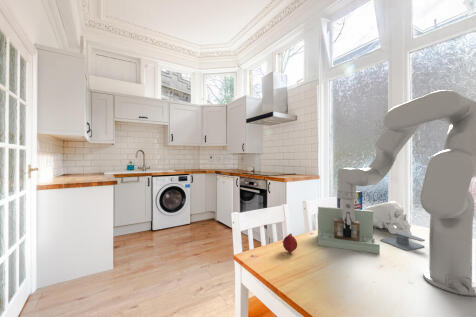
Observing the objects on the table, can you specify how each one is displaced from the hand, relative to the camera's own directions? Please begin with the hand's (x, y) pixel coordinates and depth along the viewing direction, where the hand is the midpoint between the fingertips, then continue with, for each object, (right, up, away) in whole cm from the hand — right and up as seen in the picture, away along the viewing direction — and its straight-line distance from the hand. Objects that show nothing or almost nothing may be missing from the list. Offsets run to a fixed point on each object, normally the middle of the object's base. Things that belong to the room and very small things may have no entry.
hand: (346, 235), depth 95 cm
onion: (-27, -5, -7) cm, 28 cm away
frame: (0, -2, 0) cm, 2 cm away
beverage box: (+11, -5, +18) cm, 22 cm away
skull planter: (+34, -5, +22) cm, 41 cm away
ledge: (+1, -5, +3) cm, 6 cm away
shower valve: (+28, -6, +2) cm, 28 cm away
